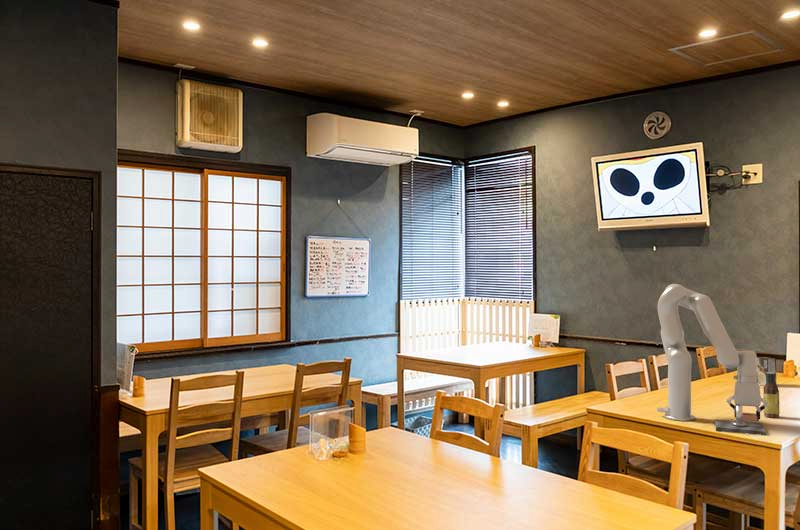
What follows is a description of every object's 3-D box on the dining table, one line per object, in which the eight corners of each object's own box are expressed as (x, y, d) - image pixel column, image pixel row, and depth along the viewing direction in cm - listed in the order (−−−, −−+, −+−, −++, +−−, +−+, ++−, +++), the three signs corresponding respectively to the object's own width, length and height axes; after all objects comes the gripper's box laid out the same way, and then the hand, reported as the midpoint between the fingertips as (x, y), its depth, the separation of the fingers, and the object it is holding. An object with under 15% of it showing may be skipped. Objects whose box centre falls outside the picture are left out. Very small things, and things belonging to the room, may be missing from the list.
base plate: (716, 430, 269) (716, 427, 269) (714, 422, 284) (714, 419, 284) (765, 435, 262) (765, 431, 262) (761, 426, 276) (761, 423, 276)
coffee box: (777, 386, 377) (777, 358, 377) (768, 387, 375) (768, 359, 375) (763, 383, 385) (763, 356, 386) (755, 384, 383) (755, 357, 384)
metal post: (731, 426, 271) (731, 406, 271) (731, 423, 277) (730, 404, 277) (747, 427, 269) (747, 407, 269) (746, 424, 274) (746, 405, 274)
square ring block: (738, 423, 283) (738, 415, 283) (737, 419, 290) (737, 412, 290) (757, 424, 280) (757, 416, 280) (755, 421, 287) (755, 413, 287)
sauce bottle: (781, 418, 292) (781, 374, 292) (766, 418, 293) (766, 373, 294) (776, 415, 298) (776, 372, 299) (761, 415, 300) (761, 371, 300)
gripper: (725, 379, 285) (725, 420, 285) (770, 381, 278) (771, 423, 278) (724, 376, 292) (724, 416, 292) (768, 379, 285) (769, 420, 285)
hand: (747, 419), depth 285 cm, fingers closed on square ring block, 7 cm apart
